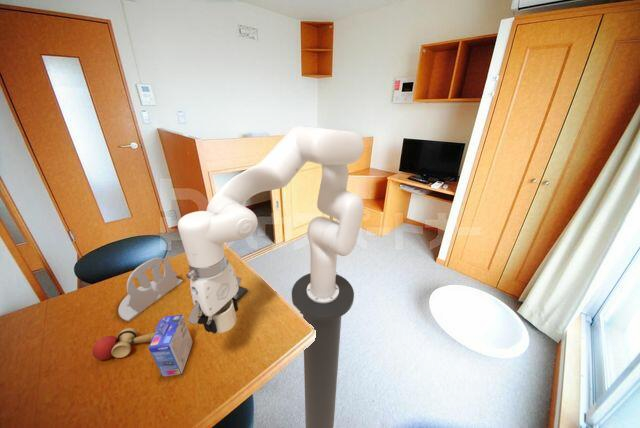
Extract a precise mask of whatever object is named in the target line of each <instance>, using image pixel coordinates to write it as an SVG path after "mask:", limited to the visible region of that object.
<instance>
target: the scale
mask: <svg viewBox="0 0 640 428" xmlns="http://www.w3.org/2000/svg"><path fill="white" fill-rule="evenodd" d="M248 292H249V291H248V288H246V287H244V286H240V285H239V290H238V292H237V295H238V297H237V298H236V301H237V303H238V302H239V301H240V300H241V299H242V298H243V297H244V296H245V295H246V294H247V293H248Z"/></svg>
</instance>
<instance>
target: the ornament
mask: <svg viewBox="0 0 640 428" xmlns="http://www.w3.org/2000/svg"><path fill="white" fill-rule="evenodd" d="M161 266H163V274H162V269H161ZM149 270H150V272H151V276H152V280H151V279H150V277H149V275H148V274H147V273H146V272H147V271H149ZM177 275H178V271H175V270H174V269H173V267H172V264H171V262H169V260H168V259H166V258H163V257H154V258H151V259H149V260H146V261H145V262H143V263H142V264H140V265H138V266H137V267H136V268H135V269H134V270H133V271H132V272H131V273H130V274H129V277H128V279H127V281H126V293H127V295H126V296H125V297H124V298H123V299H122V301H120V304H119V306H118V309H117V312H118V315H119V317H120V318H121V319H122V320H123V321H126V322H130V321H131V320H133V319H134V318H135V317H137V316H138V315H140V314H141V313H142V312H143V311H145V310H147V309H148V308H149V307H150V306H152V305H154V303H156V302H157V301H158V300H160V299H161V298H163V297H164V296H165V295H167V294H168V293H169V292H170V291H172V290H173V289H175V288H176V287H178V286H179V285H180V284H181V283H183V282H184V280H183V279H181V278H178V277H177ZM132 279H136V281H137V282H138V284H139V286H138V287H137V286H136V284H135V282H134V281H133V280H132Z"/></svg>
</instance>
